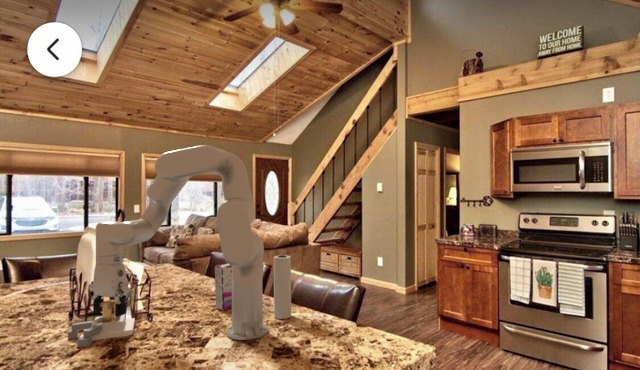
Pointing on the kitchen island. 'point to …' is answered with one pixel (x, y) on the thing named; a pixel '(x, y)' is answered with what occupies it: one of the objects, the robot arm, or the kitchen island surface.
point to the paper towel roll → (282, 286)
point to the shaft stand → (101, 330)
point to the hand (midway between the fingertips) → (109, 313)
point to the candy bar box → (223, 286)
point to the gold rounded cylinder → (108, 311)
